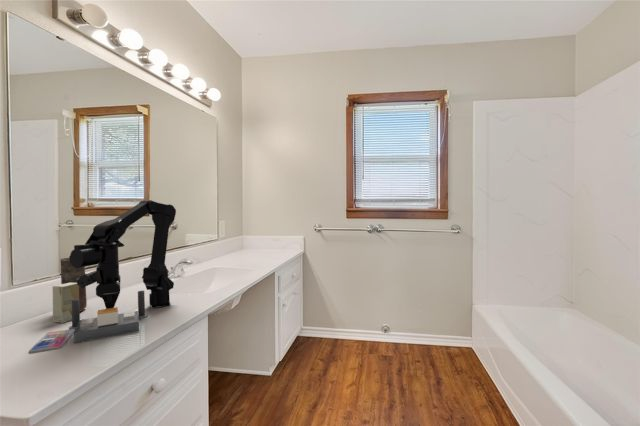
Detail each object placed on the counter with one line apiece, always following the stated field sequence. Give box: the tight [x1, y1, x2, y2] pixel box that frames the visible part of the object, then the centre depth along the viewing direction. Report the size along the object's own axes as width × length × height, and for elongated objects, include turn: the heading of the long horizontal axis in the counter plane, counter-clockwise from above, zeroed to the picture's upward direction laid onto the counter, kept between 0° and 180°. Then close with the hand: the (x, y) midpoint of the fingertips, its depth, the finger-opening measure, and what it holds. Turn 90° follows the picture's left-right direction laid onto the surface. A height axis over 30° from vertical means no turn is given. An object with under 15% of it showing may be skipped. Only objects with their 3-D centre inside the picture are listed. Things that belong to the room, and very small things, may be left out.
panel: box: [73, 310, 140, 344], centre depth 100 cm, size 16×12×4 cm
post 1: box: [68, 299, 81, 330], centre depth 102 cm, size 4×4×9 cm
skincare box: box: [52, 283, 79, 324], centre depth 110 cm, size 6×4×12 cm
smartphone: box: [28, 328, 75, 354], centre depth 93 cm, size 7×1×15 cm
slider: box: [96, 306, 119, 326], centre depth 97 cm, size 5×3×4 cm, turn 121°
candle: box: [60, 257, 88, 312], centre depth 119 cm, size 8×7×20 cm
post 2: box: [137, 290, 149, 320], centre depth 112 cm, size 4×4×9 cm
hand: (110, 309), depth 105 cm, fingers open, 9 cm apart
